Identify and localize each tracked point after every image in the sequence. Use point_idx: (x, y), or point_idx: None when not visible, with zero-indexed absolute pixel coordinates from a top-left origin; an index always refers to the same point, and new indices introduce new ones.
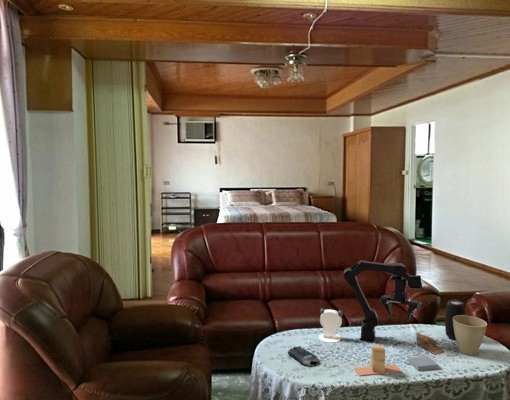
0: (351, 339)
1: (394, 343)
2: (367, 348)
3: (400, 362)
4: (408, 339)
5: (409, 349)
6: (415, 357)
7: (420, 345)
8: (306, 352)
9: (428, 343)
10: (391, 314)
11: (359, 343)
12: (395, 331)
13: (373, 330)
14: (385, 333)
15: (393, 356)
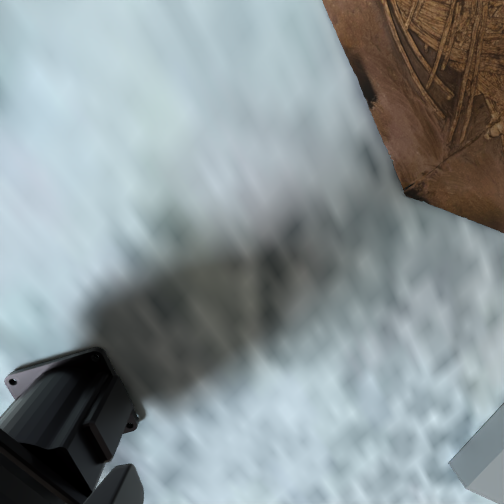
0: None
1: (255, 308)
2: (179, 495)
3: (414, 492)
4: (297, 142)
5: (387, 313)
6: (500, 453)
7: (435, 195)
8: None
9: (477, 89)
10: (122, 493)
11: None
12: (101, 52)
13: (89, 467)
14: (77, 186)
15: (351, 466)
